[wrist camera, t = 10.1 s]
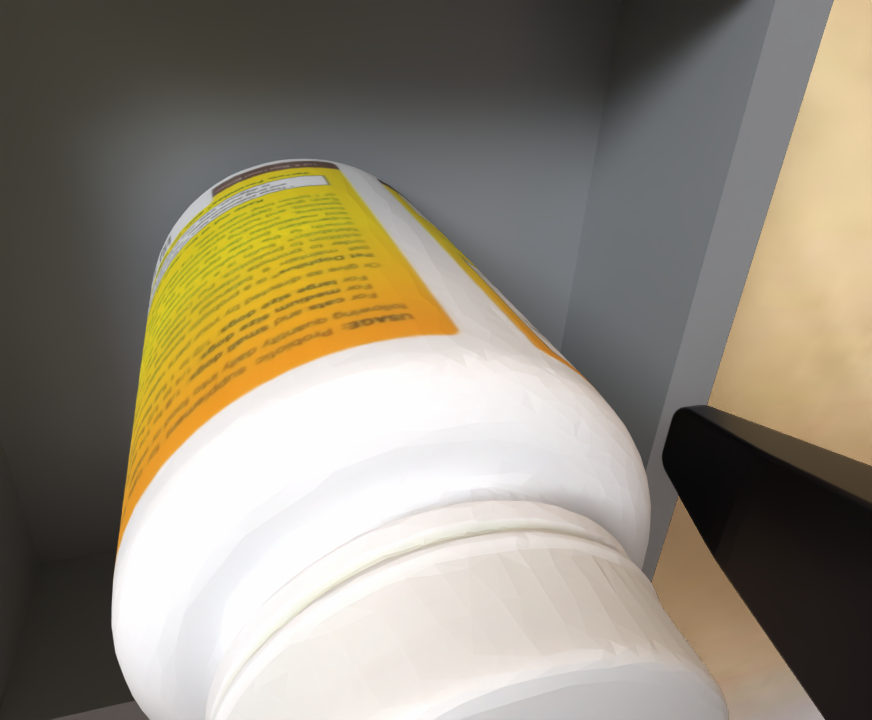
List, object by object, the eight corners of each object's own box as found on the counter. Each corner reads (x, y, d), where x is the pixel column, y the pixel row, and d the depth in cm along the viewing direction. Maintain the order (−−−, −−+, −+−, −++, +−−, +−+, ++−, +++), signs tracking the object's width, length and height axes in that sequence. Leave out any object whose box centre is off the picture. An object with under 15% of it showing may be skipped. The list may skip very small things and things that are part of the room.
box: (555, 491, 19) (640, 614, 15) (6, 583, 15) (-57, 781, 11) (667, -86, 12) (869, -116, 9) (-278, -205, 8) (-675, -360, 4)
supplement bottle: (115, 371, 13) (-47, 1143, 4) (212, 95, 11) (269, 473, 2) (369, 434, 15) (584, 991, 7) (482, 220, 14) (957, 613, 5)
